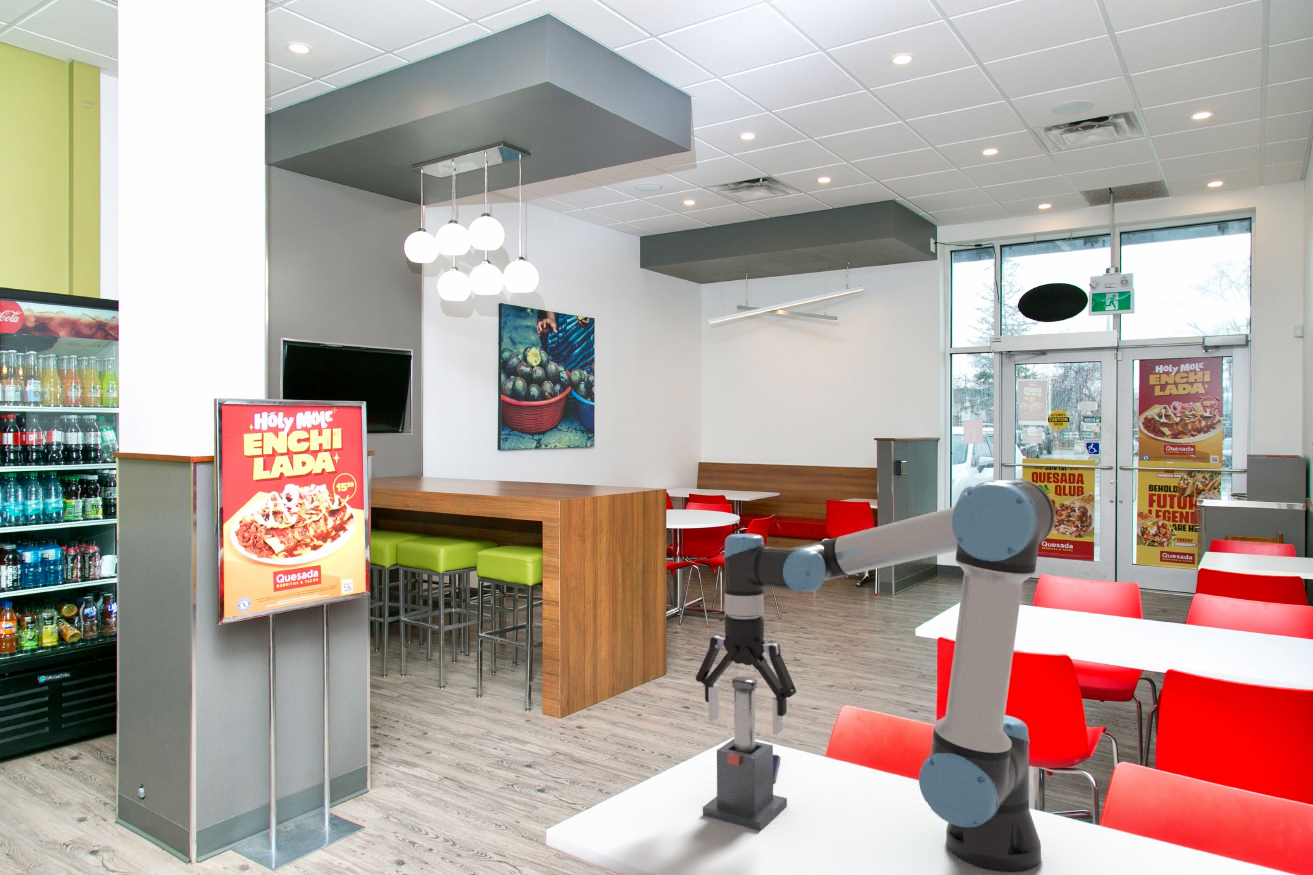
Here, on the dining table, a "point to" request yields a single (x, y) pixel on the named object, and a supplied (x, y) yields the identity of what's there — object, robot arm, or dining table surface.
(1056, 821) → the dining table surface
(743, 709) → the column
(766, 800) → the stand base
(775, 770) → the smartphone
